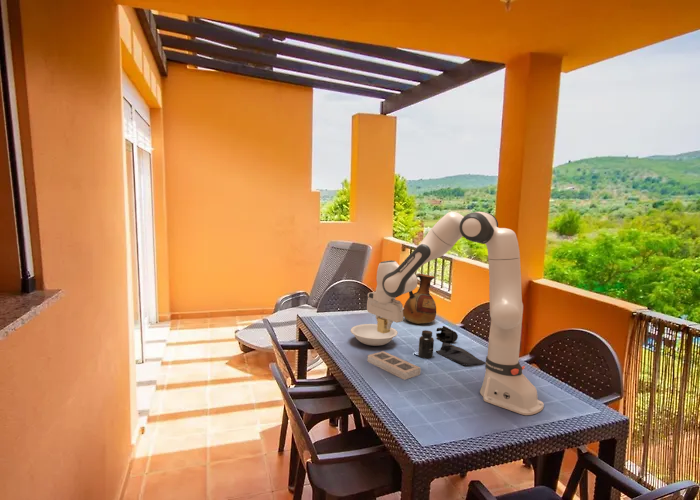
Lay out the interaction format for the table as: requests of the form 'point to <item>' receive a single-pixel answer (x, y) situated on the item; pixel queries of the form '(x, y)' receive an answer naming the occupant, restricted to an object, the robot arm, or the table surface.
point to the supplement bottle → (426, 345)
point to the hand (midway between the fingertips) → (383, 327)
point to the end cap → (446, 335)
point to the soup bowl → (372, 334)
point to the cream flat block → (394, 365)
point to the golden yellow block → (382, 325)
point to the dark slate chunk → (459, 355)
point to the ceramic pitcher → (420, 303)
